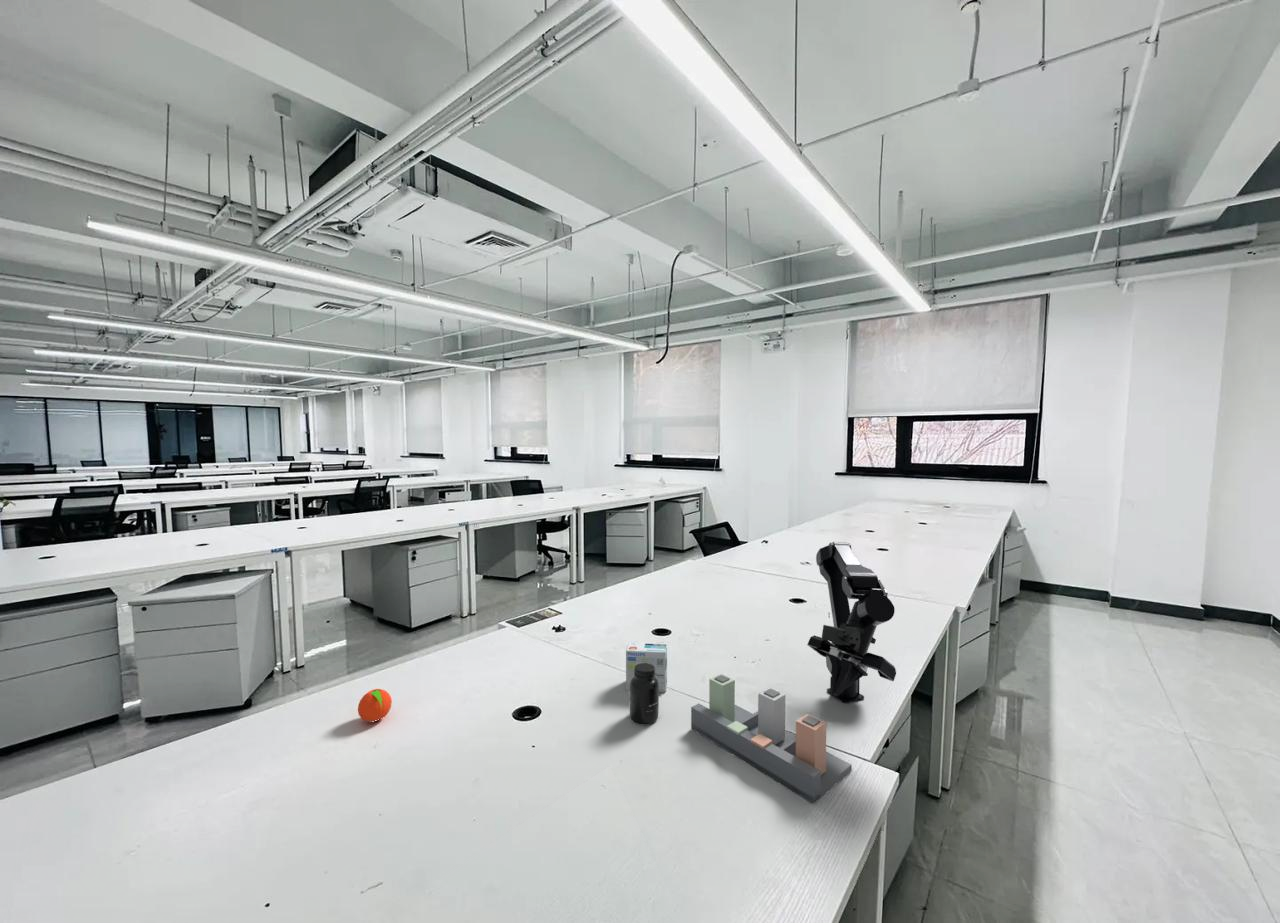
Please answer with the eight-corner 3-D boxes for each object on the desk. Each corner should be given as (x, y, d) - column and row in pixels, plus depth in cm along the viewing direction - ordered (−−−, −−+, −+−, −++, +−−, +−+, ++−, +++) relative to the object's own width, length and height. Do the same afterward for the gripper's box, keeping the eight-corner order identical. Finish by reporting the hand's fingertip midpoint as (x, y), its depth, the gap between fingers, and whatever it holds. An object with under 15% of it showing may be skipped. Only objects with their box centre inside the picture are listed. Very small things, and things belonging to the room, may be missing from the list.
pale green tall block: (720, 713, 112) (721, 672, 112) (734, 721, 109) (734, 678, 109) (709, 720, 110) (709, 677, 109) (722, 727, 107) (723, 684, 106)
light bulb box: (667, 680, 132) (667, 641, 131) (666, 693, 125) (666, 652, 124) (628, 678, 133) (628, 640, 132) (625, 691, 126) (625, 650, 126)
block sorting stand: (731, 707, 118) (731, 685, 118) (851, 770, 95) (851, 743, 95) (690, 729, 109) (690, 705, 109) (812, 804, 86) (812, 774, 86)
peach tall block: (806, 760, 96) (807, 712, 95) (825, 771, 92) (826, 720, 92) (795, 769, 93) (796, 719, 93) (814, 780, 90) (815, 728, 90)
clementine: (398, 721, 112) (398, 691, 112) (365, 734, 107) (365, 702, 107) (385, 708, 117) (385, 679, 117) (353, 720, 112) (353, 690, 112)
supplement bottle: (656, 727, 109) (656, 675, 109) (626, 724, 111) (626, 672, 110) (660, 711, 116) (661, 662, 116) (633, 708, 118) (633, 659, 117)
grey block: (769, 729, 106) (769, 685, 106) (785, 738, 103) (785, 693, 103) (758, 736, 103) (758, 691, 103) (773, 745, 100) (774, 699, 100)
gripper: (806, 601, 113) (779, 663, 108) (877, 618, 97) (850, 693, 92) (834, 624, 117) (809, 685, 112) (908, 644, 100) (882, 717, 95)
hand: (834, 694), depth 102 cm, fingers closed
